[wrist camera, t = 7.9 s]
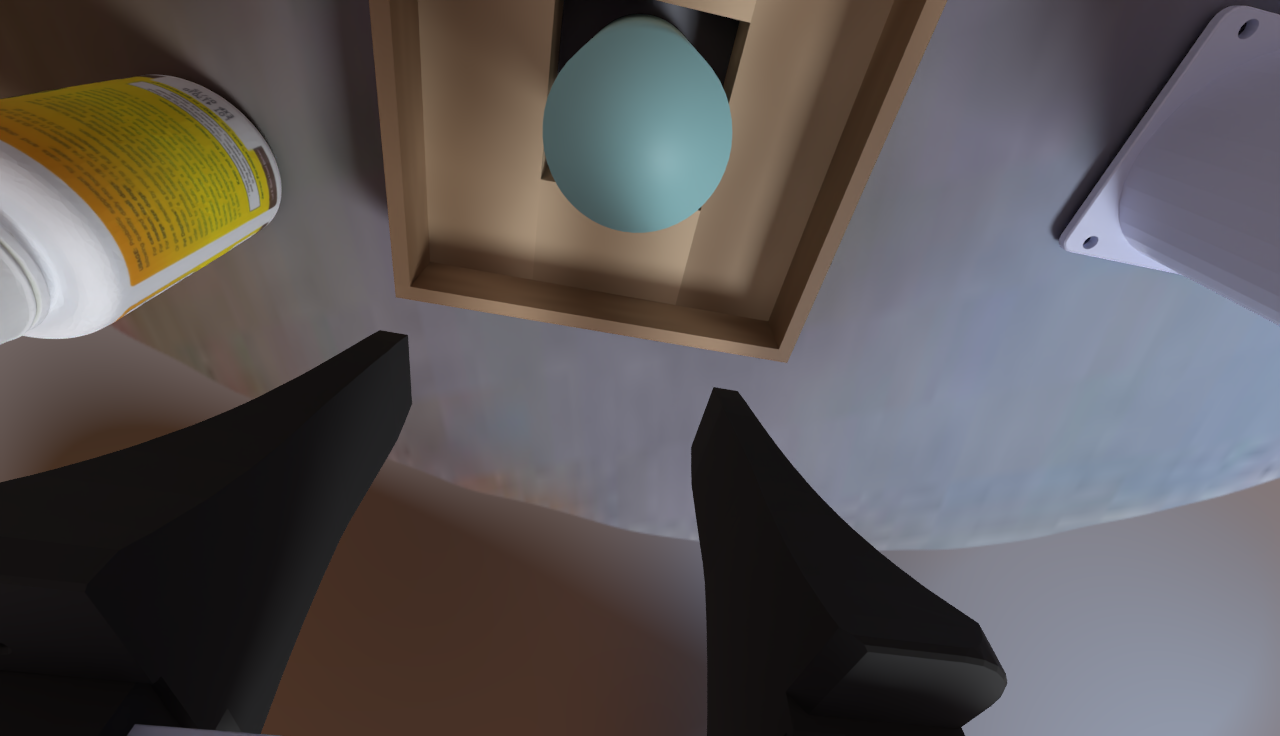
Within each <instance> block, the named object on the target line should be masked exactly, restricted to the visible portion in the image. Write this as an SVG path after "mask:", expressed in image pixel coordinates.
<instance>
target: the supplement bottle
mask: <svg viewBox="0 0 1280 736" xmlns="http://www.w3.org/2000/svg"><path fill="white" fill-rule="evenodd" d="M281 192H282V188H281V178H280V173H279V169H278V166H277V163H276V160H275V158H274V155H273V153H272V151H271V149H270V147H269V146H268V144H267V143H266V141H265V139H264V138H263V136H262V135H261V134H260V132H259V131H258V130H257V129H256V127H255V126H254V125H253V124H252V123H251V122H250V121H249V120H248V119H247V118H246V117H245V116H244V115H243V114H242V113H241V112H240V111H239V110H238V109H237V108H236V107H234V106H233V105H232V104H231V103H229V102H228V101H227V100H225V99H224V98H222V97H221V96H219V95H218V94H216V93H214V92H212V91H211V90H209V89H207V88H205V87H203V86H201V85H198V84H196V83H194V82H191V81H188V80H185V79H181V78H178V77H173V76H167V75H141V76H132V77H127V78H121V79H115V80H109V81H102V82H96V83H91V84H84V85H78V86H72V87H66V88H60V89H54V90H48V91H42V92H36V93H32V94H26V95H20V96H14V97H8V98H3V99H0V345H1V344H3V343H5V342H7V341H10V340H13V339H16V338H18V337H20V336H22V335H23V336H29V337H35V338H47V339H65V338H74V337H79V336H83V335H87V334H90V333H93V332H96V331H98V330H100V329H102V328H104V327H106V326H108V325H110V324H112V323H113V322H115V321H117V320H119V319H120V318H121V317H123V316H125V315H126V314H128V313H130V312H131V311H133V310H134V309H136V308H138V307H139V306H141V305H143V304H144V303H146V302H147V301H149V300H150V299H152V298H154V297H155V296H157V295H159V294H160V293H162V292H163V291H165V290H167V289H168V288H170V287H171V286H173V285H175V284H176V283H178V282H179V281H181V280H183V279H184V278H186V277H188V276H189V275H191V274H193V273H194V272H196V271H197V270H199V269H201V268H202V267H204V266H206V265H207V264H209V263H210V262H212V261H213V260H215V259H216V258H218V257H220V256H222V255H223V254H225V253H226V252H228V251H230V250H232V249H233V248H234V247H236V246H237V245H239V244H241V243H242V242H244V241H245V240H247V239H248V238H250V237H251V236H253V235H255V234H256V233H257V232H259V231H260V230H262V229H263V228H264V227H266V226H267V225H268V224H269V223H270V222H271V220H272V219H273V218H274V216H275V214H276V213H277V210H278V208H279V205H280V201H281Z"/></svg>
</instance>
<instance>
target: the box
mask: <svg viewBox="0 0 1280 736" xmlns="http://www.w3.org/2000/svg"><path fill="white" fill-rule="evenodd" d="M657 1H662V2H666V3H670V4H674V5H678V6H682V7H687V8H691V9H695V10H699V11H703V12H707V13H712V14H716V15H720V16H724V17H728V18H733V19H737V20H740V22H739V26H738V29H737V33H736V37H735V41H734V45H733V49H732V53H731V57H730V61H729V65H728V69H727V73H726V76H725V80H724V84H723V89H724V91H725V93H726V97H727V100H728V103H729V107H730V112H731V118H732V145H731V151H730V156H729V160H728V163H727V166H726V169H725V172H724V174H723V176H722V179H721V181H720V183H719V184H718V186H717V188H716V189H715V191H714V192H713V194H712V195H711V196H710V197H709V199H708V200H707V201H706V202H705V203H704V204H703V205H702V206H701V207H700V208H699V209H698V210H697V211H696V212H695V213H693V214H692V215H691V216H689V217H688V218H686V219H685V220H683V221H681V222H679V223H678V224H675V225H673V226H671V227H668V228H665V229H662V230H658V231H653V232H646V233H631V232H622V231H618V230H614V229H610V228H608V227H605V226H602V225H600V224H598V223H596V222H594V221H592V220H591V219H589V218H588V217H586V216H585V215H583V214H582V213H581V212H580V211H578V210H577V209H576V208H575V207H574V206H573V205H572V204H571V203H570V202H569V201H568V200H567V198H566V197H565V196H564V195H563V193H562V192H561V190H560V189H559V187H558V186H557V184H556V182H555V180H554V178H553V176H552V174H551V172H550V169H549V166H548V164H547V160H546V156H545V152H544V145H543V116H544V109H545V106H546V102H547V98H548V95H549V93H550V90H551V88H552V85H553V83H554V81H555V80H556V78H557V72H558V61H559V49H560V38H561V27H562V15H563V4H564V0H369V9H370V20H371V31H372V42H373V53H374V64H375V75H376V85H377V96H378V107H379V118H380V129H381V140H382V151H383V162H384V173H385V184H386V195H387V206H388V217H389V228H390V239H391V250H392V261H393V271H394V282H395V293H396V297H398V298H404V299H410V300H416V301H422V302H428V303H434V304H440V305H445V306H451V307H457V308H463V309H469V310H475V311H481V312H487V313H493V314H499V315H505V316H511V317H517V318H523V319H529V320H535V321H541V322H547V323H553V324H559V325H565V326H571V327H577V328H583V329H589V330H595V331H600V332H606V333H612V334H618V335H624V336H630V337H636V338H642V339H648V340H654V341H660V342H666V343H672V344H678V345H684V346H690V347H696V348H702V349H708V350H714V351H720V352H726V353H732V354H738V355H744V356H750V357H755V358H761V359H767V360H773V361H779V362H785V363H787V362H788V360H789V357H790V355H791V353H792V351H793V348H794V346H795V344H796V342H797V339H798V337H799V335H800V333H801V330H802V328H803V326H804V323H805V321H806V319H807V317H808V314H809V312H810V310H811V308H812V305H813V303H814V301H815V299H816V296H817V294H818V292H819V290H820V287H821V285H822V283H823V280H824V278H825V276H826V274H827V271H828V269H829V267H830V265H831V262H832V260H833V258H834V256H835V253H836V251H837V249H838V247H839V244H840V242H841V240H842V237H843V235H844V233H845V231H846V228H847V226H848V224H849V222H850V219H851V217H852V215H853V213H854V210H855V208H856V206H857V204H858V201H859V199H860V197H861V195H862V192H863V190H864V188H865V185H866V183H867V181H868V179H869V176H870V174H871V172H872V170H873V167H874V165H875V163H876V161H877V158H878V156H879V154H880V152H881V149H882V147H883V145H884V142H885V140H886V138H887V136H888V133H889V131H890V129H891V127H892V124H893V122H894V120H895V118H896V115H897V113H898V111H899V109H900V106H901V104H902V102H903V100H904V97H905V95H906V93H907V90H908V88H909V86H910V84H911V81H912V79H913V77H914V75H915V72H916V70H917V68H918V66H919V63H920V61H921V59H922V57H923V54H924V52H925V50H926V47H927V45H928V43H929V41H930V38H931V36H932V34H933V32H934V29H935V27H936V25H937V23H938V20H939V18H940V16H941V14H942V11H943V9H944V7H945V4H946V2H947V0H657Z"/></svg>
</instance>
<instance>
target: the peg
mask: <svg viewBox="0 0 1280 736" xmlns="http://www.w3.org/2000/svg"><path fill="white" fill-rule="evenodd" d="M543 145H544V152H545V156H546V160H547V164H548V166H549V169H550V172H551V174H552V176H553V178H554V180H555V182H556V184H557V186H558V187H559V189H560V190H561V192H562V193H563V195H564V196H565V197H566V198H567V200H568V201H569V202H570V203H571V204H572V205H573V206H574V207H575V208H576V209H577V210H578V211H580V212H581V213H582V214H583V215H585V216H586V217H588V218H589V219H591V220H592V221H594V222H596V223H598V224H600V225H602V226H605V227H608V228H610V229H614V230H618V231H622V232H631V233H646V232H653V231H658V230H662V229H665V228H668V227H671V226H673V225H675V224H678V223H679V222H681V221H683V220H685V219H686V218H688V217H689V216H691V215H692V214H693V213H695V212H696V211H697V210H698V209H699V208H700V207H701V206H702V205H703V204H704V203H705V202H706V201H707V200H708V199H709V197H710V196H711V195H712V194H713V192H714V191H715V189H716V188H717V186H718V184H719V183H720V181H721V179H722V176H723V174H724V172H725V169H726V166H727V163H728V160H729V156H730V151H731V145H732V118H731V112H730V107H729V103H728V100H727V97H726V93H725V91H724V89H723V87H722V85H721V82H720V80H719V79H718V77H717V76H716V74H715V72H714V71H713V69H712V68H711V67H710V66H709V64H708V63H707V62H706V61H705V60H704V58H703V57H702V56H701V55H700V54H699V53H698V51H697V50H696V49H695V48H694V47H693V46H692V45H691V43H690V42H689V41H688V40H687V39H686V38H685V37H684V35H683V34H682V33H681V32H680V31H679V30H678V29H677V28H676V27H675V26H673V25H672V24H670V23H669V22H667V21H666V20H663V19H661V18H659V17H656V16H653V15H647V14H632V15H627V16H624V17H621V18H618V19H616V20H614V21H612V22H611V23H609V24H608V25H607V26H605V27H604V28H603V29H602V30H601V31H600V32H598V33H597V34H596V35H595V36H594V37H593V38H592V39H591V40H590V41H589V42H588V43H587V44H585V45H584V46H583V47H582V48H581V49H580V50H579V51H578V52H577V53H576V54H575V55H574V56H573V57H572V58H571V59H570V60H569V61H568V62H567V63H566V65H565V66H564V67H563V68H562V70H561V71H560V72H559V74H558V76H557V78H556V80H555V81H554V83H553V85H552V88H551V90H550V93H549V95H548V98H547V102H546V106H545V109H544V116H543Z"/></svg>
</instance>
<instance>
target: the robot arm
mask: <svg viewBox="0 0 1280 736" xmlns="http://www.w3.org/2000/svg"><path fill="white" fill-rule="evenodd" d="M1246 22H1247V25H1246V27H1245V29H1244V31H1243V32H1242V33H1241V34H1240V35H1239V36H1238V32H1239V30H1240V28H1241V27H1242V26H1243V25H1244V24H1245V23H1246ZM1089 237H1091V238H1090V240H1089V241H1088V242H1087V243H1085V244H1083V243H1084V241H1085V240H1086V239H1087V238H1089ZM1059 245H1060V247H1062V248H1063V249H1065V250H1067V251H1069V252H1073V253H1078V254H1083V255H1088V256H1093V257H1097V258H1102V259H1107V260H1112V261H1117V262H1122V263H1127V264H1132V265H1137V266H1141V267H1146V268H1151V269H1156V270H1161V271H1166V272H1171V273H1176V274H1181V275H1183V276H1185V277H1187V278H1189V279H1191V280H1193V281H1195V282H1197V283H1198V284H1200V285H1202V286H1204V287H1206V288H1208V289H1210V290H1212V291H1214V292H1216V293H1218V294H1219V295H1221V296H1223V297H1225V298H1227V299H1229V300H1231V301H1233V302H1235V303H1237V304H1239V305H1240V306H1242V307H1244V308H1246V309H1248V310H1250V311H1252V312H1254V313H1256V314H1258V315H1260V316H1261V317H1263V318H1265V319H1267V320H1269V321H1271V322H1273V323H1275V324H1277V325H1279V326H1280V15H1279V14H1276V13H1272V12H1268V11H1265V10H1261V9H1257V8H1254V7H1250V6H1229V7H1227V8H1224V9H1223V10H1221V11H1220V12H1219V13H1217V14H1216V15H1215V16H1214V17H1213V19H1212V20H1211V21H1210V22H1209V24H1208V25H1207V26H1206V28H1205V29H1204V31H1203V32H1202V34H1201V35H1200V37H1199V38H1198V39H1197V41H1196V42H1195V44H1194V45H1193V47H1192V48H1191V49H1190V51H1189V52H1188V54H1187V55H1186V57H1185V58H1184V59H1183V61H1182V62H1181V64H1180V65H1179V67H1178V68H1177V69H1176V71H1175V72H1174V74H1173V75H1172V77H1171V78H1170V79H1169V81H1168V82H1167V84H1166V85H1165V87H1164V88H1163V90H1162V91H1161V92H1160V94H1159V95H1158V97H1157V98H1156V100H1155V101H1154V102H1153V104H1152V105H1151V107H1150V108H1149V110H1148V111H1147V112H1146V114H1145V115H1144V117H1143V118H1142V120H1141V121H1140V122H1139V124H1138V125H1137V127H1136V128H1135V130H1134V131H1133V133H1132V134H1131V135H1130V137H1129V138H1128V140H1127V141H1126V143H1125V144H1124V145H1123V147H1122V148H1121V150H1120V151H1119V153H1118V154H1117V155H1116V157H1115V158H1114V160H1113V161H1112V163H1111V164H1110V165H1109V167H1108V168H1107V170H1106V171H1105V173H1104V174H1103V176H1102V177H1101V178H1100V180H1099V181H1098V183H1097V184H1096V186H1095V187H1094V188H1093V190H1092V191H1091V193H1090V194H1089V196H1088V197H1087V198H1086V200H1085V201H1084V203H1083V204H1082V206H1081V207H1080V208H1079V210H1078V211H1077V213H1076V214H1075V216H1074V217H1073V219H1072V220H1071V221H1070V223H1069V224H1068V226H1067V227H1066V229H1065V230H1064V231H1063V233H1062V234H1061V236H1060V238H1059ZM411 405H412V396H411V380H410V363H409V347H408V335H404V334H399V333H393V332H387V331H381V330H380V331H378V332H376V333H374V334H372V335H370V336H369V337H367V338H365V339H363V340H362V341H360V342H358V343H357V344H355V345H353V346H351V347H350V348H348V349H346V350H345V351H343V352H341V353H340V354H338V355H336V356H334V357H333V358H331V359H329V360H327V361H326V362H324V363H322V364H320V365H319V366H317V367H315V368H313V369H312V370H310V371H308V372H306V373H304V374H303V375H301V376H299V377H297V378H295V379H293V380H291V381H289V382H287V383H285V384H283V385H281V386H279V387H277V388H275V389H273V390H271V391H269V392H267V393H265V394H264V395H262V396H260V397H258V398H255V399H253V400H251V401H249V402H247V403H245V404H243V405H240V406H238V407H236V408H234V409H231V410H229V411H227V412H224V413H222V414H220V415H217V416H215V417H212V418H210V419H207V420H205V421H202V422H200V423H198V424H195V425H192V426H189V427H187V428H184V429H181V430H178V431H175V432H172V433H169V434H167V435H164V436H161V437H158V438H155V439H152V440H150V441H147V442H144V443H141V444H139V445H135V446H132V447H129V448H126V449H123V450H120V451H116V452H113V453H110V454H106V455H103V456H100V457H97V458H93V459H90V460H86V461H82V462H79V463H75V464H72V465H68V466H64V467H61V468H58V469H54V470H50V471H46V472H42V473H38V474H34V475H30V476H26V477H22V478H17V479H13V480H9V481H5V482H1V483H0V736H278V735H266V734H261V731H262V728H263V726H264V723H265V720H266V717H267V715H268V712H269V709H270V706H271V704H272V701H273V699H274V696H275V693H276V691H277V688H278V685H279V682H280V680H281V677H282V675H283V672H284V670H285V667H286V665H287V662H288V660H289V657H290V655H291V652H292V650H293V647H294V645H295V642H296V639H297V637H298V635H299V632H300V629H301V627H302V624H303V622H304V620H305V617H306V615H307V613H308V610H309V608H310V606H311V603H312V601H313V599H314V596H315V594H316V591H317V589H318V587H319V585H320V582H321V580H322V578H323V575H324V573H325V571H326V569H327V567H328V565H329V562H330V560H331V558H332V555H333V554H334V551H335V549H336V547H337V544H338V543H339V540H340V538H341V536H342V535H343V533H344V531H345V529H346V527H347V525H348V523H349V521H350V520H351V518H352V516H353V514H354V513H355V511H356V509H357V508H358V506H359V504H360V503H361V501H362V499H363V497H364V496H365V494H366V492H367V491H368V489H369V487H370V486H371V484H372V482H373V480H374V479H375V477H376V476H377V474H378V472H379V471H380V469H381V467H382V465H383V464H384V462H385V460H386V459H387V457H388V455H389V453H390V452H391V450H392V448H393V446H394V445H395V443H396V441H397V439H398V437H399V434H400V432H401V430H402V427H403V425H404V422H405V420H406V417H407V415H408V412H409V410H410V407H411ZM691 476H692V490H693V498H694V505H695V512H696V519H697V526H698V533H699V540H700V547H701V553H702V560H703V569H704V578H705V595H706V620H707V660H708V661H707V668H708V669H707V670H708V672H707V675H708V676H707V679H708V680H707V681H708V682H707V687H708V691H707V693H708V695H707V697H708V698H707V699H708V700H707V703H708V706H707V707H708V708H707V709H708V712H707V713H708V714H707V715H708V716H707V736H965V735H964V732H963V730H962V728H961V727H962V726H963V725H965V724H966V723H967V722H969V721H970V720H972V719H973V718H975V717H976V716H977V715H979V714H980V713H982V712H983V711H985V710H986V709H987V708H989V707H990V706H991V705H992V704H994V703H995V702H996V701H997V700H998V699H999V698H1000V697H1001V695H1002V693H1003V691H1004V689H1005V687H1006V685H1007V679H1006V673H1005V672H1004V670H1003V668H1002V666H1001V664H1000V662H999V660H998V659H997V657H996V655H995V653H994V651H993V649H992V647H991V645H990V644H989V642H988V640H987V638H986V636H985V634H984V632H983V631H982V629H981V627H980V625H979V624H978V623H977V622H976V621H974V620H973V619H971V618H970V617H968V616H967V615H965V614H964V613H962V612H961V611H959V610H958V609H956V608H955V607H953V606H952V605H950V604H949V603H947V602H946V601H944V600H943V599H941V598H940V597H938V596H937V595H935V594H934V593H932V592H931V591H930V590H928V589H927V588H925V587H924V586H923V585H921V584H920V583H919V582H917V581H916V580H915V579H913V578H912V577H911V576H909V575H908V574H907V573H905V572H904V571H903V570H901V569H900V568H899V567H897V566H896V565H895V564H894V563H892V562H891V561H890V560H889V559H887V558H886V557H885V556H884V555H882V554H881V553H880V552H879V551H878V550H876V549H875V548H874V547H873V546H872V545H871V544H869V543H868V542H867V541H866V540H865V539H864V538H863V537H861V536H860V535H859V534H858V533H857V532H856V531H855V530H853V529H852V528H851V527H850V526H849V525H848V524H847V523H846V522H845V521H844V520H843V519H842V518H841V517H840V516H839V515H838V514H837V513H836V512H835V511H834V510H833V509H832V508H831V507H830V506H829V505H828V504H827V503H826V502H825V501H824V500H823V499H822V498H821V497H820V496H819V495H818V494H817V493H816V492H815V491H814V490H813V489H812V487H811V486H810V485H809V484H808V483H807V482H806V481H805V479H804V478H803V477H802V476H801V475H800V474H799V472H798V471H797V470H796V469H795V468H794V467H793V465H792V464H791V463H790V462H789V460H788V459H787V458H786V457H785V455H784V454H783V453H782V451H781V450H780V449H779V448H778V446H777V445H776V444H775V442H774V441H773V440H772V438H771V437H770V436H769V434H768V433H767V431H766V430H765V429H764V427H763V426H762V425H761V423H760V422H759V420H758V419H757V418H756V416H755V415H754V413H753V412H752V410H751V409H750V408H749V406H748V405H747V403H746V402H745V400H744V399H743V398H742V396H741V395H740V394H739V392H738V391H733V390H727V389H721V388H715V387H713V390H712V393H711V396H710V398H709V401H708V404H707V406H706V409H705V412H704V414H703V417H702V420H701V422H700V425H699V428H698V431H697V433H696V436H695V439H694V441H693V444H692V447H691Z"/></svg>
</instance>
